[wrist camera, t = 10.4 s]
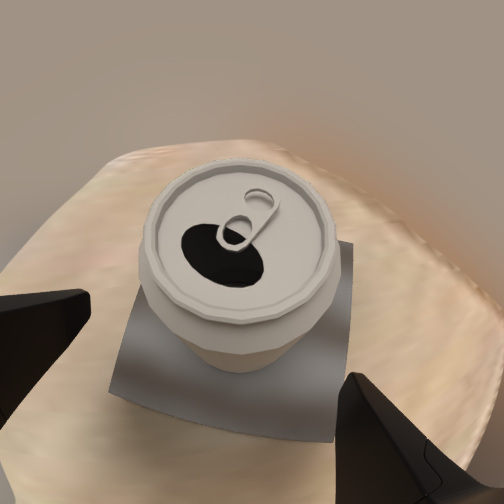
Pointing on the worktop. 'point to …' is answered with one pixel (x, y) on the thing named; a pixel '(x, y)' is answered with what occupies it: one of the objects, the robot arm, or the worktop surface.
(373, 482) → the robot arm
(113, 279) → the worktop surface
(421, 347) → the worktop surface
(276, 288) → the can
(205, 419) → the plinth
